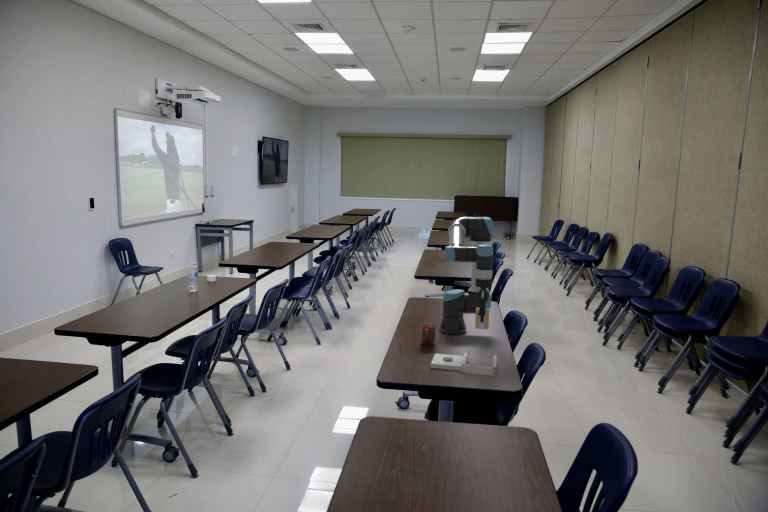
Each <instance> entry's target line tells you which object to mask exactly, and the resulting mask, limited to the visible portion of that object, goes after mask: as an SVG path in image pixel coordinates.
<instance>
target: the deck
mask: <svg viewBox="0 0 768 512" xmlns="http://www.w3.org/2000/svg"><path fill="white" fill-rule="evenodd" d="M468 357H469V352H464V354H463V355H455V354H444V353H435V354H434V356H433V358H432V360H431V363H430V369H436V370H437V369H438V370H449V371H459V372H461V374H471V375H472V374H473V375H483V376H491V377H496V376H497V366H498V365H497V364H498V363H497V361H498V354H497V355H495V354H494V355H493V359H492V360H493V361H492V366H488V365H477V364H468V359H469V358H468Z"/></svg>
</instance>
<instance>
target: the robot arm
mask: <svg viewBox="0 0 768 512" xmlns="http://www.w3.org/2000/svg"><path fill="white" fill-rule="evenodd" d="M494 231H495V230H494V222H493V219H492V218H491V217H488V216H461V217H458V218H456V219H454V220H453V221H452V222H451V223H450V224H449V225H448V228H447V235H448V238H449V240H448V244H449V245H446V246H445V247H444V260H445V261H446V262H450V263H455V262H456V263H464V262H465V263H471V273H470V274H471V277H470V287H469V288H468V290H467V292H465V290H464V289H459V288H458V289H454V288H453V289H450V290H446V291H445V292H443V297H442V318H441V321H440V323H439V326H438V327H439V332H441V333H442V334H445V335H446V334H448V335H462V334H465V333H466V332H467V326H466V322H465V319H464V314H465V315H466V314H468V315H469V314H472V315H473V314H475V315H476V307H480V310H479V314H478V315H479V330H486V329H485V308H489V311H491V306H492V305H491V304H492V298H493V296H492V293H490V289H489V288H492V286H493V284H492V283H493V279H492V278H493V264H494V263H493V260H494V247H493V244H492V245H490V243H491V242H492V239H494V238H495V232H494ZM465 239H469V243H470V244H471V245H472V246H466V245H465Z"/></svg>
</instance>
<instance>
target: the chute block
mask: <svg viewBox="0 0 768 512" xmlns="http://www.w3.org/2000/svg"><path fill="white" fill-rule="evenodd" d="M479 310H480V307H476V314H475V325H474V327H475V328H474V329H476V330H478V329H479V315H478V314H479ZM489 326H490V310H489V308H485V329H484V330H489V328H490V327H489ZM479 330H480V329H479Z"/></svg>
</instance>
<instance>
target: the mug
mask: <svg viewBox="0 0 768 512" xmlns="http://www.w3.org/2000/svg"><path fill="white" fill-rule="evenodd" d="M419 327H420V342H421V344H422V345H423V346H433V345H434V344H435V342H436V329H437V324H436V323H435V322H422V323H420V324H419Z"/></svg>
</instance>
